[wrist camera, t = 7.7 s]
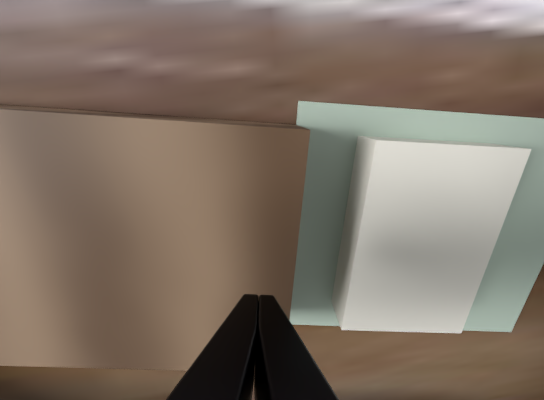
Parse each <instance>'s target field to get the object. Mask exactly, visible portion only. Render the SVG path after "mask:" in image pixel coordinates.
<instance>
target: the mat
mask: <svg viewBox="0 0 544 400" xmlns="http://www.w3.org/2000/svg"><path fill="white" fill-rule="evenodd" d="M296 125H298V126H301V127H304V128H307V129H309V130H310V139H309V148H308V157H307V166H306V175H305V184H304V193H303V202H302V211H301V220H300V229H299V238H298V247H297V256H296V266H295V275H294V284H293V293H292V302H291V311H290V320H289V321H290V322H291V324H295V325H324V326H340V325H339V322H338V319H337V316H336V313H335V310H334V308H333V305H332V302H331V300H332V293H333V287H334V281H335V275H336V269H337V262H338V256H339V250H340V244H341V238H342V231H343V225H344V219H345V213H346V207H347V200H348V194H349V188H350V182H351V176H352V169H353V163H354V157H355V151H356V145H357V138H358V136H372V137H389V138H407V139H424V140H441V141H459V142H476V143H490V144H498V145H505V146H513V147H521V148H528V149H532V150H531V152H530V155H529V157H528V160H527V163H526V165H525V168H524V171H523V173H522V176H521V178H520V181H519V184H518V186H517V189H516V192H515V194H514V197H513V199H512V202H511V205H510V207H509V210H508V213H507V215H506V218H505V220H504V223H503V226H502V228H501V231H500V233H499V236H498V239H497V241H496V244H495V247H494V249H493V252H492V254H491V257H490V260H489V262H488V265H487V268H486V270H485V273H484V275H483V278H482V281H481V283H480V286H479V289H478V291H477V294H476V296H475V299H474V302H473V304H472V307H471V309H470V312H469V315H468V317H467V320H466V323H465V325H464V328H463V330H467V331H496V332H511V331H512V329H513V327H514V325H515V323H516V321H517V319H518V317H519V314H520V312H521V310H522V308H523V306H524V304H525V302H526V300H527V298H528V295H529V293H530V291H531V289H532V287H533V285H534V283H535V281H536V278H537V276H538V274H539V272H540V270H541V268H542V266H543V264H544V119H543V118H529V117H515V116H501V115H487V114H473V113H459V112H445V111H431V110H417V109H403V108H389V107H376V106H362V105H348V104H334V103H320V102H306V101H298V109H297V120H296Z"/></svg>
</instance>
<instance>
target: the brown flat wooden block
mask: <svg viewBox="0 0 544 400" xmlns="http://www.w3.org/2000/svg"><path fill="white" fill-rule="evenodd" d="M309 139H310V130H309V129H307V128H304V127H301V126H298V125H295V124H280V123H265V122H251V121H236V120H221V119H206V118H192V117H177V116H162V115H147V114H133V113H118V112H103V111H88V110H74V109H59V108H44V107H29V106H15V105H0V366H32V367H69V368H107V369H144V370H182V371H188V369H189V368H190V366H191V365H192V364H193V362H194V361H195V360H196V358H197V357H198V356H199V354H200V353H201V352H202V350H203V349H204V347H205V346H206V345H207V343H208V342H209V341H210V339H211V338H212V337H213V335H214V334H215V332H216V331H217V330H218V328H219V327H220V326H221V324H222V323H223V322H224V320H225V319H226V318H227V316H228V315H229V313H230V312H231V311H232V309H233V308H234V307H235V305H236V304H237V303H238V301H239V300H240V299H241V297H242V296H243V295H244V294H257V295H258V297H259V295H261V294H262V295H273V296H274V297H275V298H276V300H277V301H278V303H279V305H280V306H281V308H282V309H283V311H284V313H285V314H286V316H287V317H288V319H289V320H290V311H291V302H292V293H293V284H294V275H295V266H296V256H297V247H298V238H299V229H300V220H301V211H302V202H303V193H304V184H305V175H306V166H307V157H308V148H309ZM258 300H259V299H258ZM254 372H255V371H254Z"/></svg>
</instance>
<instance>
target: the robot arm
mask: <svg viewBox="0 0 544 400" xmlns="http://www.w3.org/2000/svg"><path fill="white" fill-rule="evenodd" d="M258 299H259V300H258ZM254 371H255V374H254ZM253 384H254V393H255V400H339V399H338V398H337V396H336V394H335V393H334V391H333V390H332V388H331V386H330V385H329V383H328V382H327V380H326V378H325V377H324V375H323V374H322V372H321V370H320V369H319V367H318V366H317V364H316V362H315V361H314V359H313V358H312V356H311V354H310V353H309V351H308V350H307V348H306V346H305V345H304V343H303V342H302V340H301V338H300V337H299V335H298V334H297V332H296V330H295V329H294V327H293V326H292V324H291V322H290V321H289V319H288V317H287V316H286V314H285V313H284V311H283V309H282V308H281V306H280V305H279V303H278V301H277V300H276V298H275V297H274V296H273V295H262V294H261V295H259V297H258V295H257V294H244V295H243V296H242V297H241V299H240V300H239V301H238V303H237V304H236V305H235V307H234V308H233V309H232V311H231V312H230V313H229V315H228V316H227V318H226V319H225V320H224V322H223V323H222V324H221V326H220V327H219V328H218V330H217V331H216V332H215V334H214V335H213V337H212V338H211V339H210V341H209V342H208V343H207V345H206V346H205V347H204V349H203V350H202V352H201V353H200V354H199V356H198V357H197V358H196V360H195V361H194V362H193V364H192V365H191V366H190V368H189V369H188V371H187V372H186V373H185V375H184V376H183V377H182V379H181V380H180V381H179V383H178V384H177V385H176V387H175V388H174V390H173V391H172V392H171V394H170V395H169V396H168V398H167V399H166V400H251V399H252V392H253Z"/></svg>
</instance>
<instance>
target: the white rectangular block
mask: <svg viewBox="0 0 544 400" xmlns="http://www.w3.org/2000/svg"><path fill="white" fill-rule="evenodd" d="M531 150H532V149H528V148H521V147H513V146H505V145H498V144H490V143H476V142H459V141H441V140H424V139H407V138H389V137H372V136H358V138H357V145H356V151H355V157H354V163H353V169H352V176H351V182H350V188H349V194H348V200H347V207H346V213H345V219H344V225H343V231H342V238H341V244H340V250H339V256H338V262H337V269H336V275H335V281H334V287H333V293H332V300H331V302H332V305H333V308H334V310H335V313H336V316H337V319H338V322H339V325H340V328H341V330H360V331H396V332H433V333H462V330H463V328H464V325H465V323H466V320H467V317H468V315H469V312H470V309H471V307H472V304H473V302H474V299H475V296H476V294H477V291H478V289H479V286H480V283H481V281H482V278H483V275H484V273H485V270H486V268H487V265H488V262H489V260H490V257H491V254H492V252H493V249H494V247H495V244H496V241H497V239H498V236H499V233H500V231H501V228H502V226H503V223H504V220H505V218H506V215H507V213H508V210H509V207H510V205H511V202H512V199H513V197H514V194H515V192H516V189H517V186H518V184H519V181H520V178H521V176H522V173H523V171H524V168H525V165H526V163H527V160H528V157H529V155H530V152H531Z"/></svg>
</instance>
